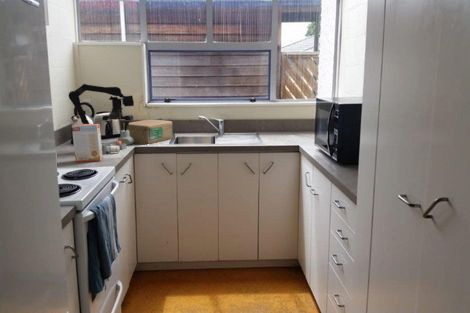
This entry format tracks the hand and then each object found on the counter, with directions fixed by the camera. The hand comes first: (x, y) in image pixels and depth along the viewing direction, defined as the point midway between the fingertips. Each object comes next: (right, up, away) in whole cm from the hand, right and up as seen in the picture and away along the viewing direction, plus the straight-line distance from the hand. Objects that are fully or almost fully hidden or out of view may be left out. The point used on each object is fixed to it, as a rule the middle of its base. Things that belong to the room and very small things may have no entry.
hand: (118, 131), depth 268 cm
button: (-1, -10, +4) cm, 11 cm away
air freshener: (0, -9, +19) cm, 21 cm away
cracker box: (-9, -19, -29) cm, 36 cm away
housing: (-7, -14, -8) cm, 18 cm away
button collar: (-1, -11, +4) cm, 12 cm away
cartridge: (-3, -14, -9) cm, 17 cm away
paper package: (+12, -5, +35) cm, 37 cm away
